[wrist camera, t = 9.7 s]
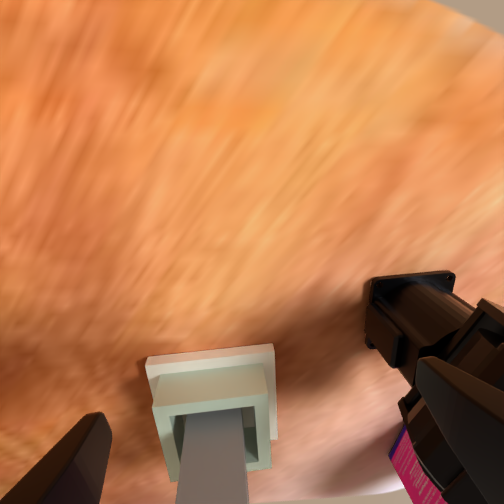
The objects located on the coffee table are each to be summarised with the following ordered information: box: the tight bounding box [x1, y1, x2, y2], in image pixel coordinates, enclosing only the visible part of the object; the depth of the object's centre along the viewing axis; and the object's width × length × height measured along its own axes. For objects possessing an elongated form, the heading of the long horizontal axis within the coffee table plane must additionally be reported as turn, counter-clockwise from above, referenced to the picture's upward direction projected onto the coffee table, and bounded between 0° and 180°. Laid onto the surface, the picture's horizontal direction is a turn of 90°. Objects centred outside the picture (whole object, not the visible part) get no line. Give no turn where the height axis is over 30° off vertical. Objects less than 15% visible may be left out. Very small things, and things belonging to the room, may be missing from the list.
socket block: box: [145, 343, 278, 482], centre depth 24 cm, size 10×10×4 cm
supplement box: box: [388, 425, 448, 504], centre depth 25 cm, size 6×6×12 cm
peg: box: [175, 407, 249, 504], centre depth 20 cm, size 4×4×10 cm
